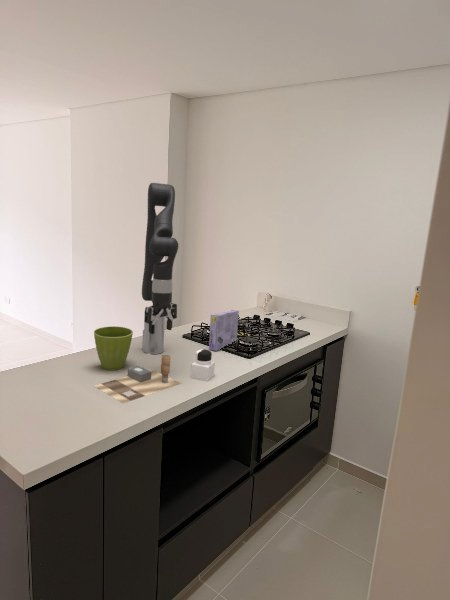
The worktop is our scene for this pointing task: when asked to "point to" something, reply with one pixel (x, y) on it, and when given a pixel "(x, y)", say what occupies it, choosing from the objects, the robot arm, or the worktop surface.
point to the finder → (139, 374)
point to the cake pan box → (223, 329)
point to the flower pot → (113, 346)
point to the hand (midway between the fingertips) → (160, 331)
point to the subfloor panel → (135, 387)
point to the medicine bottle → (203, 365)
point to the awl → (165, 367)
